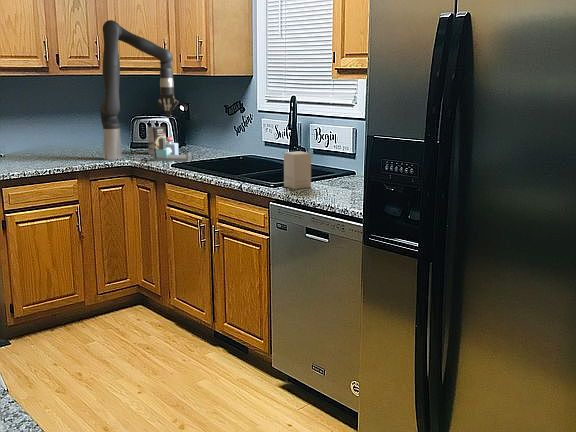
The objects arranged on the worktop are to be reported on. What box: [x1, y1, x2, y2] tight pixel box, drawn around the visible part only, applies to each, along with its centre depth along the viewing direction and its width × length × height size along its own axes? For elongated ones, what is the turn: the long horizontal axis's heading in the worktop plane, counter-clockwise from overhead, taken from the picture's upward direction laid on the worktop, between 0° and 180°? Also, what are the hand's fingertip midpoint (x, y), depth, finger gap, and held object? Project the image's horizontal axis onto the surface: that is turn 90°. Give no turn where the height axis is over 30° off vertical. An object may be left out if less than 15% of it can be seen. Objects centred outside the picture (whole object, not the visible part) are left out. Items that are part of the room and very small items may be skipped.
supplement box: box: [283, 150, 312, 190], centre depth 275 cm, size 9×9×15 cm
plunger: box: [166, 137, 173, 144], centre depth 364 cm, size 3×3×6 cm
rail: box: [152, 151, 192, 162], centre depth 354 cm, size 20×6×4 cm, turn 82°
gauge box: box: [166, 142, 180, 155], centre depth 364 cm, size 8×8×8 cm
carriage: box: [156, 138, 169, 158], centre depth 353 cm, size 6×5×10 cm
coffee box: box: [147, 126, 167, 156], centre depth 378 cm, size 9×6×16 cm
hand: (168, 117), depth 360 cm, fingers closed
